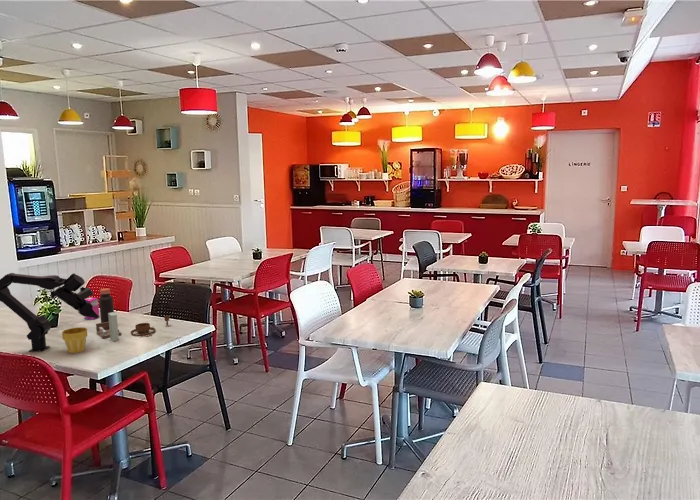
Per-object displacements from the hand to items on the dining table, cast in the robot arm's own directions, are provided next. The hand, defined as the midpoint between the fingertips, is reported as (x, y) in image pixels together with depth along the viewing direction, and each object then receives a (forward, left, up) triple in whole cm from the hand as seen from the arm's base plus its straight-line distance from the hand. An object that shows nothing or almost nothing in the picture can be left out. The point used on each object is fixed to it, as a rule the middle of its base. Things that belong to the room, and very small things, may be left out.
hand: (95, 315), depth 252 cm
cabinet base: (+12, -1, -13) cm, 18 cm away
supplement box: (+44, +22, -14) cm, 51 cm away
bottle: (+29, +7, -14) cm, 32 cm away
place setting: (+15, -21, -14) cm, 29 cm away
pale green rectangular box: (+4, -6, -13) cm, 15 cm away
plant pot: (-12, +5, -14) cm, 19 cm away
